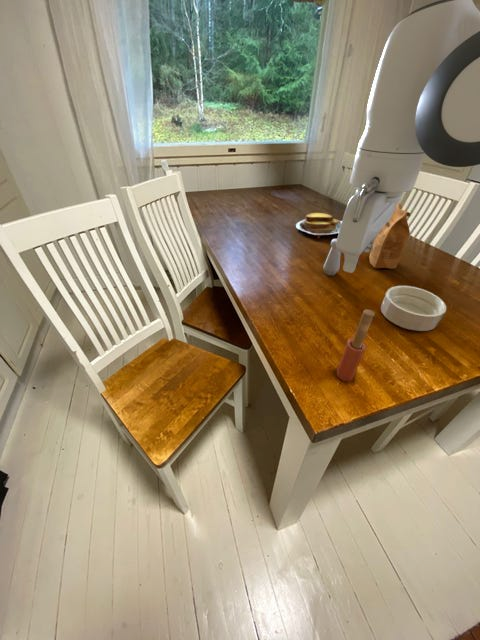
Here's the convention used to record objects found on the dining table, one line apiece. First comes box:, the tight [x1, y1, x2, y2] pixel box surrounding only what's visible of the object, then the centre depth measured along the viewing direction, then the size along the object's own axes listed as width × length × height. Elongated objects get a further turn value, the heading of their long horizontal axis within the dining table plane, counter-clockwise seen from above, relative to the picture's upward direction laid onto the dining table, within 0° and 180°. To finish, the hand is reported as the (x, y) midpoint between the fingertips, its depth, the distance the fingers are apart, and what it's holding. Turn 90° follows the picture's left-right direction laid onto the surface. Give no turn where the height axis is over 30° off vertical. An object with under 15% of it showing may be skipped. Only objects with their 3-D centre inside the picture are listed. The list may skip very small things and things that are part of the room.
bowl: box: [380, 285, 447, 332], centre depth 81 cm, size 16×16×6 cm
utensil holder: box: [336, 338, 367, 382], centre depth 62 cm, size 4×4×10 cm
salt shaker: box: [323, 238, 342, 276], centre depth 99 cm, size 6×6×13 cm
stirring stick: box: [351, 308, 375, 349], centre depth 59 cm, size 2×2×18 cm
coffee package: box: [368, 202, 411, 270], centre depth 103 cm, size 10×12×22 cm
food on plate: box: [295, 212, 342, 239], centre depth 136 cm, size 25×25×7 cm
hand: (357, 260), depth 48 cm, fingers open, 8 cm apart
